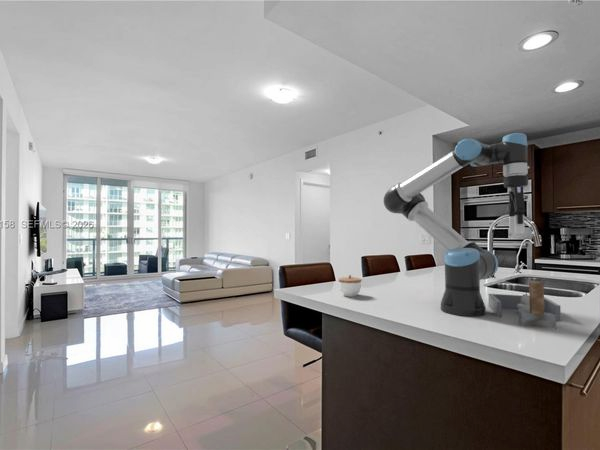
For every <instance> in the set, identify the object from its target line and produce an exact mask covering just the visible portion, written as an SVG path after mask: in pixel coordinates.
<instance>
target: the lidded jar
mask: <svg viewBox="0 0 600 450" xmlns="http://www.w3.org/2000/svg"><path fill="white" fill-rule="evenodd" d="M338 286H339V287H338V288H339V291H340V292H341V293H342V294H343V296H345V297H350V298H351V297H357V296H358V294H359V293H360V292H361V289H362V278H360V277H354V276H353V277H352V275H351V274H349V275H348V276H345V277H343V276H342V277H339V278H338Z"/></svg>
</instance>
